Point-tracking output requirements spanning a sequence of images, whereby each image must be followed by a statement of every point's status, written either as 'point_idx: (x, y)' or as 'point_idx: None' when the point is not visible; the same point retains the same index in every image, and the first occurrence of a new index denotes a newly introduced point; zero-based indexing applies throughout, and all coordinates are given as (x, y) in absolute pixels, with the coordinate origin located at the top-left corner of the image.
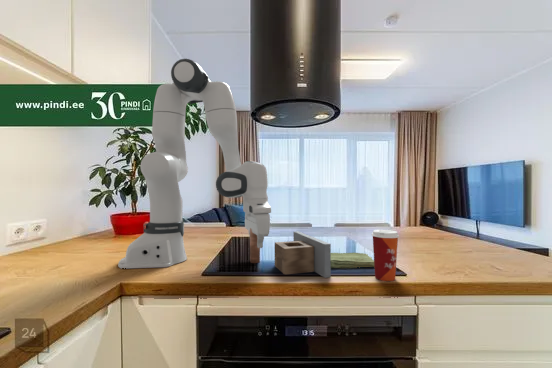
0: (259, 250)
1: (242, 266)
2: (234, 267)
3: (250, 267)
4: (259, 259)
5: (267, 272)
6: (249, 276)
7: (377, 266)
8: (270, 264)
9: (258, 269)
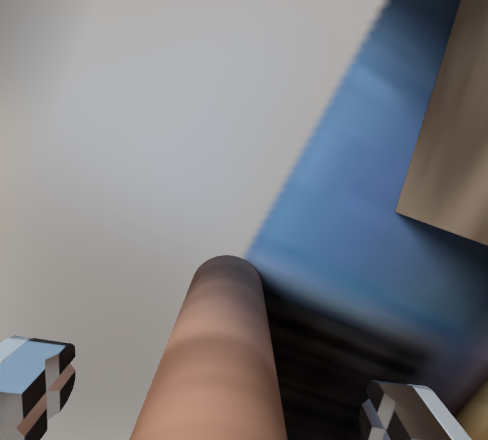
0: (255, 312)
1: (291, 388)
2: (286, 429)
3: (335, 358)
4: (251, 272)
5: (484, 313)
6: (478, 415)
7: None
8: (346, 221)
9: (400, 334)
